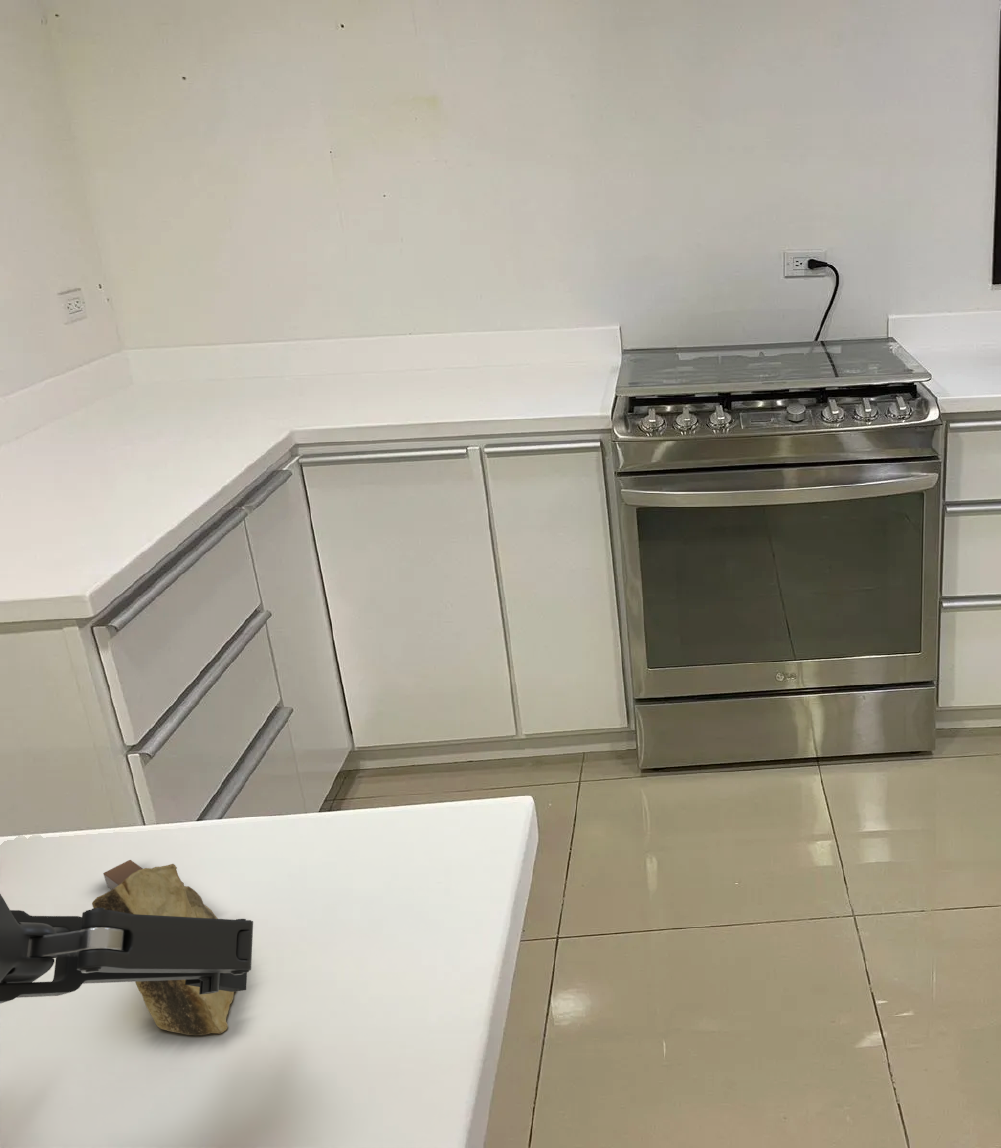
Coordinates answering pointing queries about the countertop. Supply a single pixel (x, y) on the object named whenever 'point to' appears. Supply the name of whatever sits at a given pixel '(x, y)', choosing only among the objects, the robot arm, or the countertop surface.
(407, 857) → the countertop surface
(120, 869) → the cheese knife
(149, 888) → the rock
